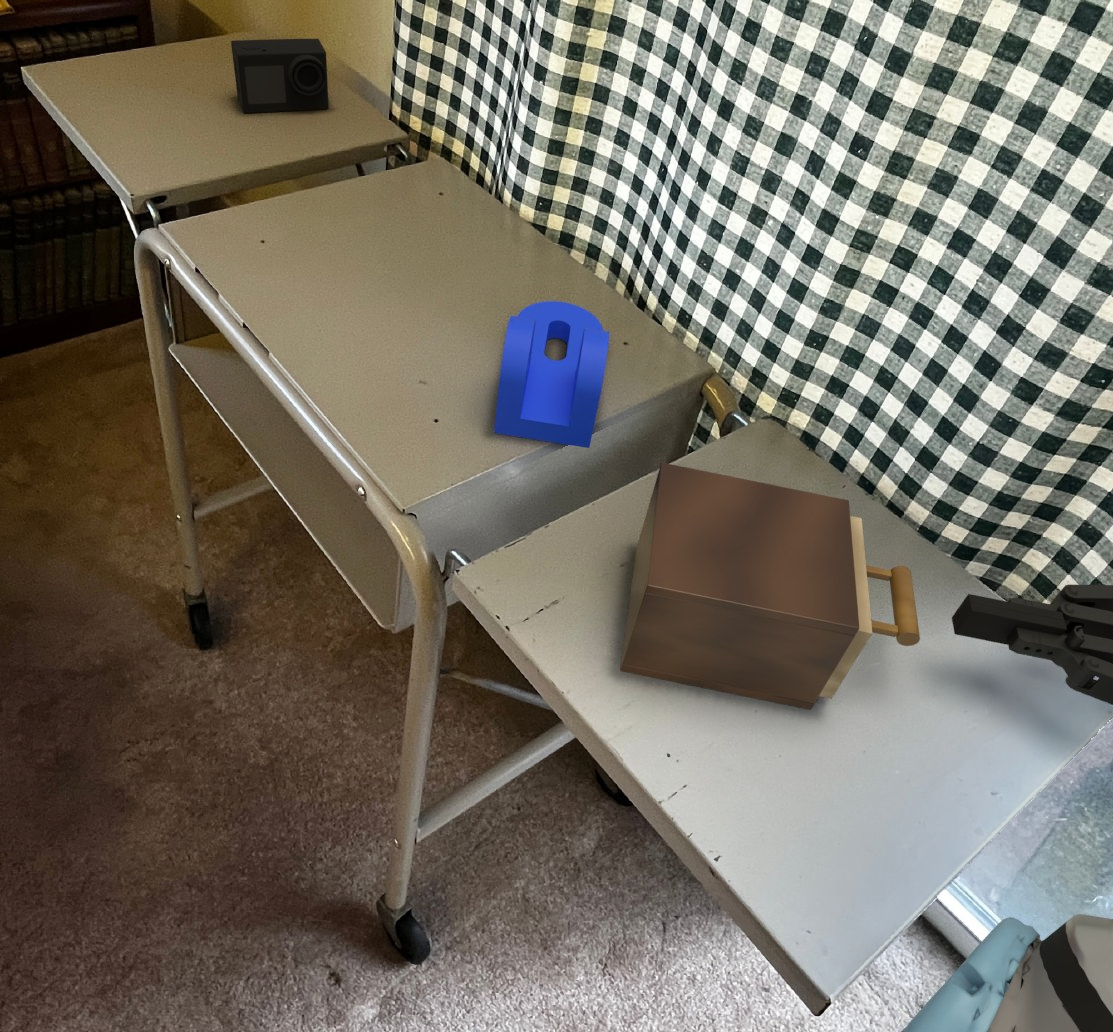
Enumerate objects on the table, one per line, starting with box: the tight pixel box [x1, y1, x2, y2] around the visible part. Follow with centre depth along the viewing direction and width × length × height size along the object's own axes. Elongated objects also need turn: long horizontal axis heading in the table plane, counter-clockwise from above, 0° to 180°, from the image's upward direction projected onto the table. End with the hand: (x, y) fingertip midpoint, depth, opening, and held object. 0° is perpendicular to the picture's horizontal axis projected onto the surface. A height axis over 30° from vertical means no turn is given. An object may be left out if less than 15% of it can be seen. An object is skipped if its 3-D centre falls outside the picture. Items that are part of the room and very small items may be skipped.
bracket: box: [493, 300, 610, 449], centre depth 85 cm, size 18×8×9 cm, turn 175°
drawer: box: [818, 515, 921, 700], centre depth 67 cm, size 17×10×8 cm, turn 81°
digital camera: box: [230, 38, 330, 114], centre depth 115 cm, size 10×5×7 cm, turn 113°
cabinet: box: [620, 462, 859, 711], centre depth 67 cm, size 14×12×10 cm
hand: (961, 614), depth 66 cm, fingers closed
